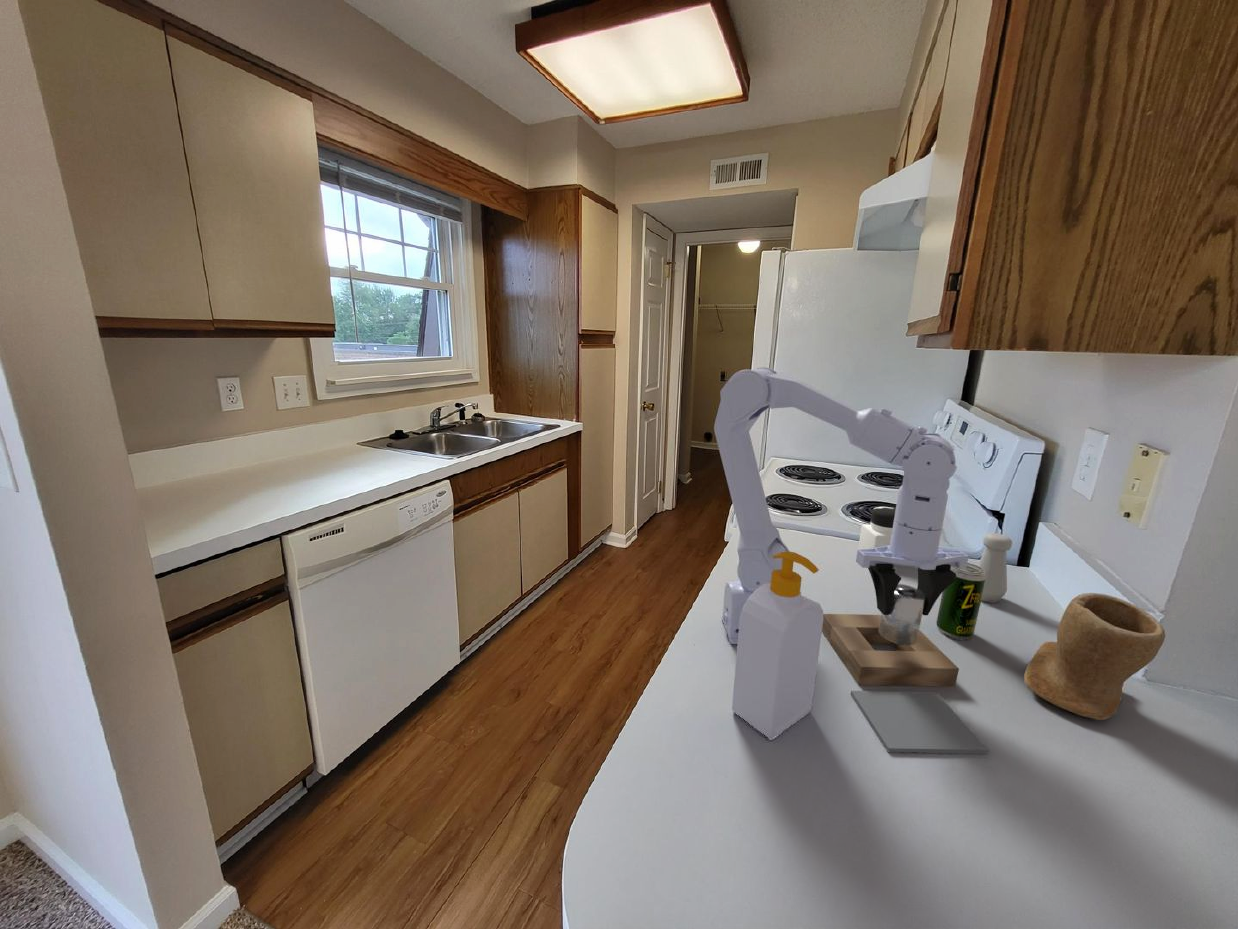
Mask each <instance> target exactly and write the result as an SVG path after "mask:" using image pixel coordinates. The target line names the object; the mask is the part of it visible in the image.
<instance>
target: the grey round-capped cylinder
mask: <svg viewBox="0 0 1238 929" xmlns="http://www.w3.org/2000/svg"><path fill="white" fill-rule="evenodd" d="M924 603H925V594H924V593H923V592H922V591H920V590H918V589H917V588H916V587H914V586H911V585H908V584H903V583H899V584H898V586H897V588H896V590H895V593H894V596H893V601H892V607H891V611H890V614H889V615H883V614H882V613H881V612H880V615H881V617H880V623H879V629H878V632H879V634H880V635H881V636H882V637H883V638H885V639H886V640H888V641H890V642H893V643H896V644H899V645H914V644H915V643H916V642H917V638H918V633H919V630H920V628H921V622H922V617H923V614H922V613H923V608H924Z"/></svg>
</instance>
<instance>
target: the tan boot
mask: <svg viewBox="0 0 1238 929" xmlns="http://www.w3.org/2000/svg"><path fill="white" fill-rule="evenodd" d="M1165 638H1166V630H1164V627H1163V626H1162V624H1161V623H1160V622H1159V621H1158V620H1157V619H1156V618H1155V617H1154V616H1152V615H1151V614H1149V613H1148V612H1147V611H1146V610H1144V609H1142V608H1140V607H1138V606H1137V605H1135V604H1133V603H1131V602H1129V601H1126V600H1124V599H1123V598H1122V599H1121V598H1119V597H1116V596H1112V595H1109V594H1104V593H1097V592H1087V593H1086V592H1085V593H1080V594H1078V595H1077V596H1075V597H1073V599H1071V601H1069V603H1068V605H1067V607H1066V608H1065V610H1064V612H1063V614H1062V617H1061V619H1060V622H1059V624H1058V626H1057V631H1056V641H1045V642H1043V643H1042V644H1041V645H1040V646H1039V648H1038V649H1037V650H1036V651H1035V653H1034V655H1033V657H1032V658H1031V660H1030V662H1028V665H1027V666H1026V669H1025V672H1024V674H1023V680H1024V684H1025V686H1026V687H1027V688H1028V689H1029V690H1030V691H1031V692H1032V693H1034V694H1035V695H1036V696H1037V697H1039V698H1041V699H1043V700H1044V701H1047V702H1048V703H1050V704H1052V705H1053V706H1056V707H1058V708H1060V709H1063V710H1065V711H1067V712H1071V713H1073V714H1076V715H1079V716H1082V717H1085V718H1090V719H1093V720H1095V721H1106V720H1108V719H1110V718H1112V716H1114V714H1116V713H1117V711H1118V709H1119V707H1120V705H1121V700H1122V695H1123V687H1124V683H1125V682H1126V681H1127V680H1128V679H1130V678H1131V677H1132V676H1133V675H1135V674H1136V673H1138V672H1140V670H1142V669H1143V668H1145V667H1146V666H1147V665H1149V664H1150V663H1151V662H1152V661H1153V660H1154V659H1155V657H1156V656H1157V655H1158V653H1159V651H1160V649H1161V647H1162V646H1163V645H1164V641H1165Z"/></svg>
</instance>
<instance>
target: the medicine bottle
mask: <svg viewBox="0 0 1238 929" xmlns="http://www.w3.org/2000/svg"><path fill="white" fill-rule="evenodd" d="M895 511H896V508H894V507H888V506H878V507H874V508H873V509H872V510H871V517H870V524H868V523H866V524H865V523H864V524H861V528H860V534H859V535H860V536H859V541H858V547H857V550H858V549H871V548H876V547H882V546H888V545H890V541H891V535H892V529H893V523H894V517H895Z"/></svg>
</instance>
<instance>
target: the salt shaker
mask: <svg viewBox="0 0 1238 929" xmlns="http://www.w3.org/2000/svg"><path fill="white" fill-rule="evenodd" d="M982 541H983V543H982V544H983V546H985V549H984V551H983V552H982V555H981V557H980V560H979V562H978V564H977V566H979V567H981V568H983V569H984V570H985V577H986V580H985V585H984V590H983V594H982V599H981V602H985V603H990V604H991V603H992V604H995V603H997V602H999V601H1000V600H1001V599H1002V598H1003V597H1004V596H1005V595H1006V593H1007V590H1008V579H1007V578H1008V576H1007V575H1008V574H1007V572H1008V569H1007V562H1008V560H1007V551H1010V550H1011V548H1012V546H1013V540H1012V539H1011V538H1010V537H1009V536H1007V535H1004V534H1001V533H995V532H989V533H986V534H985V535H984V537H983V540H982Z"/></svg>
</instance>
